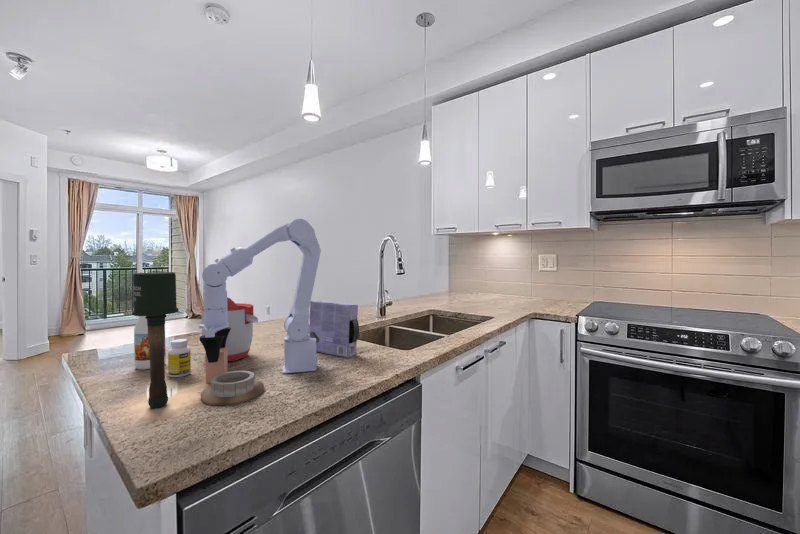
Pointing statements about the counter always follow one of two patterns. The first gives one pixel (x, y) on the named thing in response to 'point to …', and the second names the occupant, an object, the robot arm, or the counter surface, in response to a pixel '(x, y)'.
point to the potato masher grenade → (155, 324)
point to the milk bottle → (142, 345)
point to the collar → (232, 388)
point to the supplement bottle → (179, 358)
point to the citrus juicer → (238, 329)
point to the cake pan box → (334, 327)
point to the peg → (217, 365)
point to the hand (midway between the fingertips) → (216, 358)
